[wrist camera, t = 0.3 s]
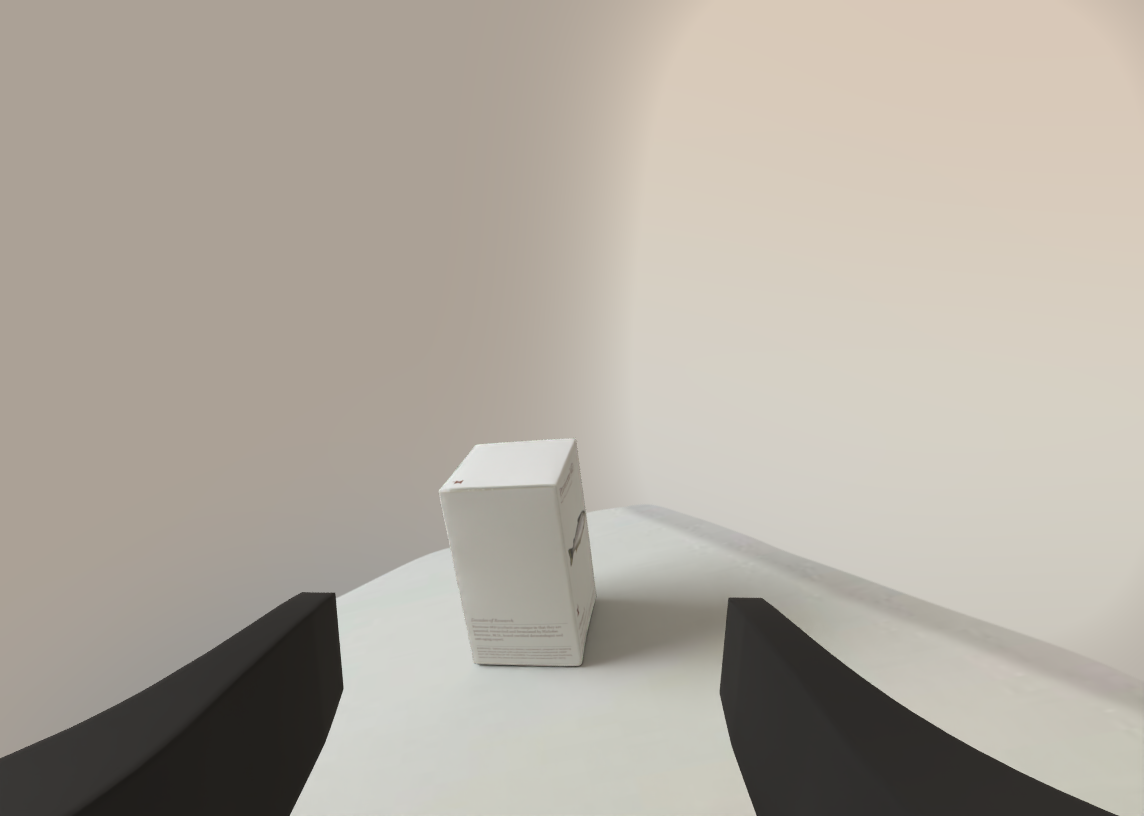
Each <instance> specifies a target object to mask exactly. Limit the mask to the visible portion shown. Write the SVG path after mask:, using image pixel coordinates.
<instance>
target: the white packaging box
mask: <svg viewBox="0 0 1144 816" xmlns="http://www.w3.org/2000/svg"><path fill="white" fill-rule="evenodd" d="M580 474H581V473H580V466H579V458H578V451H577V443H576V439H575V438H572V439H551V440H534V441H519V442H504V443H491V444H478V445H475V446H474V447H473V449H472V450H471V451H470V453H469V454H468V455H467V456H466V458H465V459H464V460H463V461H462V463H461V464H460V465H459V466H458V467H457V469H456V470H455V471H454V473H453V474H452V475H451V477H450V478H449V479H448V480H447V481H446V483H445V484H444V485H443V486H442V488H441V489H440V490H439V496H440V501H441V506H442V511H443V516H444V521H445V526H446V530H447V535H448V540H449V544H450V550H451V555H452V559H453V564H454V569H455V574H456V579H457V584H458V589H459V593H460V598H461V603H462V608H463V613H464V618H465V623H466V628H467V633H468V638H469V642H470V647H471V652H472V656H473V662H474V663H475V664H492V665H530V666H580V665H581V663H582V660H583V653H584V647H585V641H586V636H587V631H588V627H589V623H590V619H591V615H592V611H593V607H594V603H595V600H596V589H595V581H594V573H593V565H592V556H591V549H590V540H589V533H588V525H587V517H586V509H585V503H584V495H583V488H582V482H581V475H580Z"/></svg>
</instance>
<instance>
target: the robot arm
mask: <svg viewBox="0 0 1144 816" xmlns="http://www.w3.org/2000/svg"><path fill="white" fill-rule="evenodd" d="M342 692H343V677H342V666H341V654H340V643H339V631H338V619H337V608H336V596H335V593H308V592H307V593H306V592H302V593H300V594H298V595H296V596H295V597H293V598H291V599H289V600H288V601H286V602H284V603H283V604H281V605H280V606H278V607H276V608H275V609H273V610H272V611H270V612H269V613H267V614H266V615H264V616H263V617H261V618H260V619H258V620H257V621H255V622H254V623H252V624H251V625H249V626H248V627H246V628H244V629H243V630H241V631H240V632H239V633H237V634H235V635H234V636H232V637H231V638H229V639H227V640H226V641H224V642H223V643H221V644H220V645H218V646H217V647H215V648H214V649H212V650H211V651H209V652H207V653H206V654H204V655H203V656H201V657H199V658H197V659H196V660H194V661H192V662H191V663H189V664H187V665H186V666H184V667H182V668H181V669H179V670H177V671H176V672H174V673H172V674H171V675H169V676H167V677H166V678H164V679H162V680H161V681H159V682H157V683H156V684H154V685H152V686H150V687H149V688H147V689H145V690H143V691H142V692H140V693H138V694H136V695H134V696H132V697H131V698H129V699H127V700H125V701H123V702H121V703H119V704H117V705H115V706H113V707H111V708H110V709H107V710H106V711H103V712H101V713H99V714H97V715H95V716H93V717H91V718H90V719H87V720H86V721H83V722H81V723H79V724H77V725H75V726H73V727H71V728H69V729H67V730H64V731H62V732H60V733H58V734H55V735H53V736H51V737H48V738H46V739H44V740H41V741H39V742H37V743H35V744H32V745H30V746H28V747H25V748H23V749H21V750H19V751H16V752H14V753H12V754H10V755H7V756H5V757H2V758H0V816H290V814H291V812H292V810H293V808H294V806H295V804H296V802H297V800H298V798H299V795H300V793H301V791H302V789H303V787H304V785H305V783H306V781H307V779H308V777H309V775H310V773H311V771H312V769H313V767H314V765H315V763H316V761H317V759H318V756H319V754H320V752H321V750H322V748H323V746H324V744H325V742H326V739H327V736H328V733H329V730H330V728H331V725H332V722H333V719H334V716H335V713H336V710H337V707H338V704H339V701H340V698H341V695H342ZM720 696H721V701H722V706H723V710H724V715H725V719H726V724H727V728H728V732H729V736H730V741H731V745H732V748H733V751H734V754H735V757H736V759H737V762H738V765H739V768H740V771H741V773H742V776H743V779H744V782H745V785H746V787H747V790H748V793H749V796H750V798H751V801H752V804H753V807H754V809H755V812H756V815H757V816H1118V815H1115V814H1113V813H1110V812H1108V811H1105V810H1103V809H1101V808H1099V807H1096V806H1094V805H1092V804H1089V803H1087V802H1085V801H1082V800H1080V799H1078V798H1076V797H1073V796H1071V795H1069V794H1066V793H1064V792H1062V791H1059V790H1057V789H1055V788H1053V787H1051V786H1049V785H1046V784H1044V783H1042V782H1040V781H1038V780H1036V779H1034V778H1032V777H1029V776H1027V775H1025V774H1023V773H1021V772H1019V771H1017V770H1015V769H1013V768H1011V767H1009V766H1007V765H1006V764H1004V763H1002V762H1000V761H998V760H996V759H994V758H992V757H990V756H988V755H986V754H984V753H982V752H980V751H978V750H976V749H975V748H973V747H971V746H969V745H967V744H966V743H964V742H962V741H960V740H958V739H957V738H955V737H953V736H951V735H950V734H948V733H946V732H945V731H943V730H941V729H940V728H938V727H936V726H935V725H933V724H931V723H930V722H928V721H926V720H925V719H923V718H922V717H920V716H918V715H917V714H915V713H913V712H912V711H910V710H909V709H907V708H906V707H904V706H902V705H901V704H899V703H898V702H896V701H895V700H893V699H892V698H890V697H889V696H888V695H886V694H885V693H883V692H882V691H881V690H879V689H878V688H876V687H875V686H873V685H872V684H871V683H869V682H868V681H866V680H865V679H864V678H862V677H861V676H859V675H858V674H857V673H855V672H854V671H853V670H851V669H850V668H849V667H847V666H846V665H845V664H843V663H842V662H841V661H840V660H838V659H837V658H836V657H834V656H833V655H832V654H831V653H829V652H828V651H827V650H826V649H824V648H823V647H822V646H821V645H819V644H818V643H817V642H816V641H814V640H813V639H812V638H811V637H809V636H808V635H807V634H806V633H805V632H803V631H802V630H801V629H800V628H799V627H797V626H796V625H795V624H794V623H793V622H791V621H790V620H789V619H788V618H786V617H785V616H784V615H783V614H782V613H780V612H779V611H778V610H777V609H775V608H774V607H773V606H772V605H770V604H769V603H768V602H766V601H765V600H764V599H762V598H729V599H728V610H727V620H726V631H725V641H724V652H723V663H722V673H721V684H720Z"/></svg>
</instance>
